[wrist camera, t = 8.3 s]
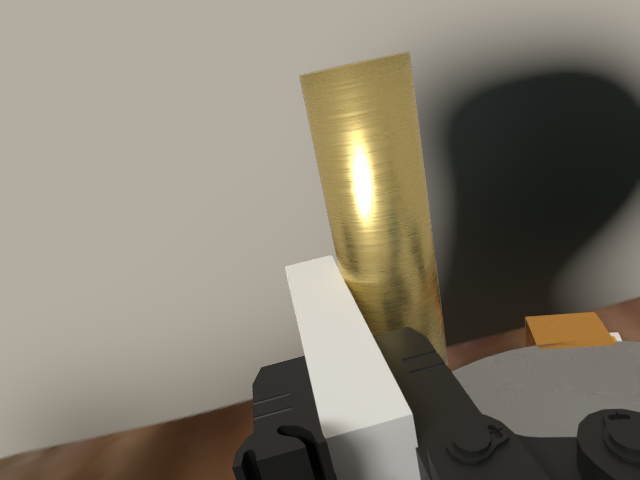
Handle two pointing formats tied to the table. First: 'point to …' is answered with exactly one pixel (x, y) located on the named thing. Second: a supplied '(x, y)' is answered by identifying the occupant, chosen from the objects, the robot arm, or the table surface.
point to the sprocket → (420, 266)
